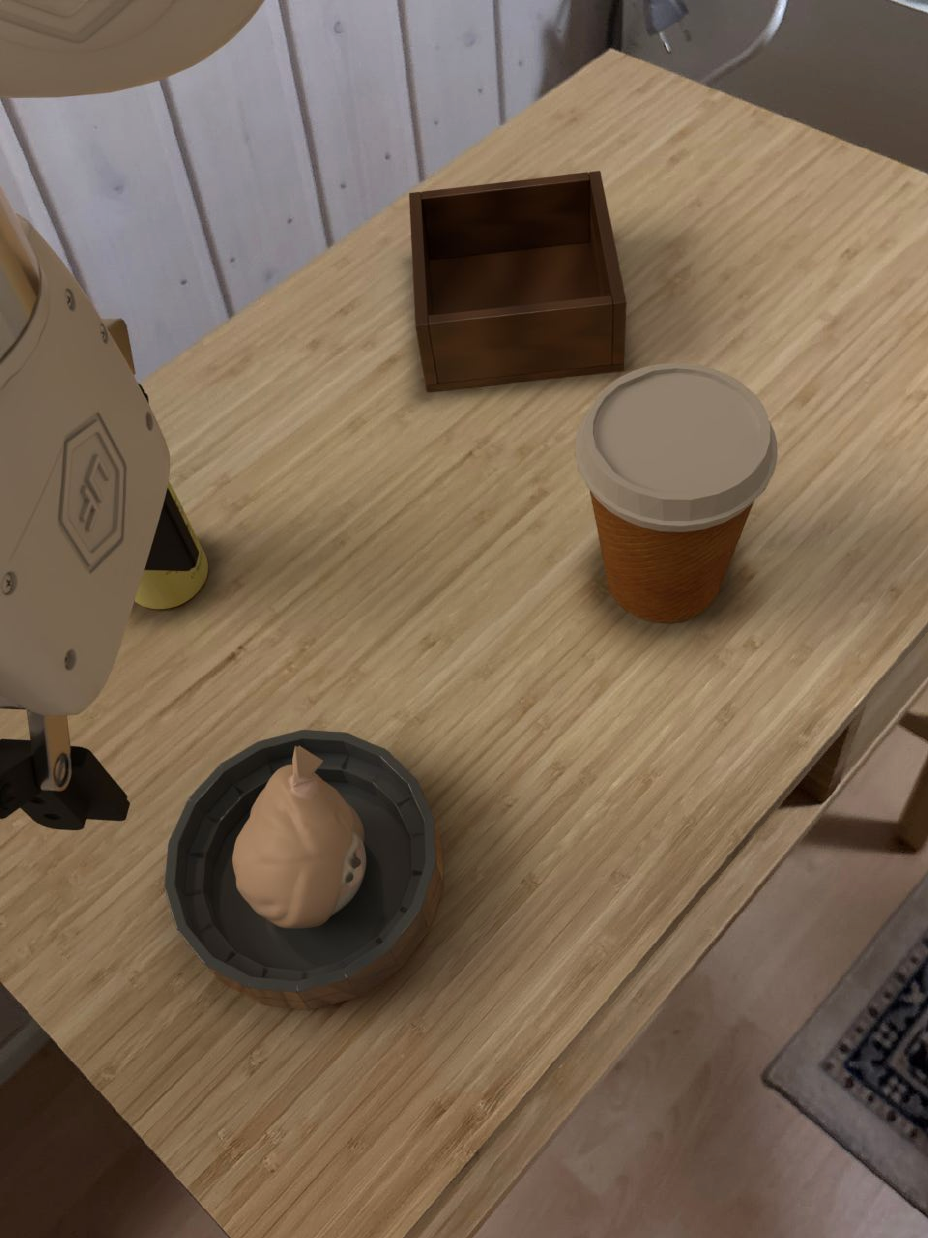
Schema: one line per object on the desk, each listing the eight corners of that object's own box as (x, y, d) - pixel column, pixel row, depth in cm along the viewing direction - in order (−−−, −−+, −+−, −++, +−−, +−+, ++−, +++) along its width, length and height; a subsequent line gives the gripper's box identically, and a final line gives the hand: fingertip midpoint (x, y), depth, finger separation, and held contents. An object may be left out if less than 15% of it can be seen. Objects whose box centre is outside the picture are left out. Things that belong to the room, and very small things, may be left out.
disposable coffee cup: (678, 680, 60) (695, 543, 50) (542, 584, 64) (533, 439, 54) (786, 567, 63) (823, 416, 53) (650, 482, 67) (660, 327, 57)
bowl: (437, 749, 59) (429, 717, 56) (450, 1001, 52) (441, 980, 49) (197, 771, 60) (177, 741, 57) (177, 1024, 53) (153, 1004, 50)
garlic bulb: (407, 874, 55) (381, 806, 48) (306, 971, 53) (265, 914, 46) (318, 787, 58) (283, 712, 51) (220, 876, 56) (169, 809, 49)
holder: (600, 240, 79) (600, 169, 75) (624, 370, 72) (626, 302, 68) (419, 260, 80) (408, 192, 75) (426, 392, 73) (415, 325, 68)
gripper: (-138, 627, 20) (168, 936, 34) (122, 50, 29) (277, 484, 43) (-519, 612, 21) (-66, 918, 35) (-151, 60, 30) (89, 480, 44)
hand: (123, 678), depth 39 cm, fingers open, 9 cm apart
